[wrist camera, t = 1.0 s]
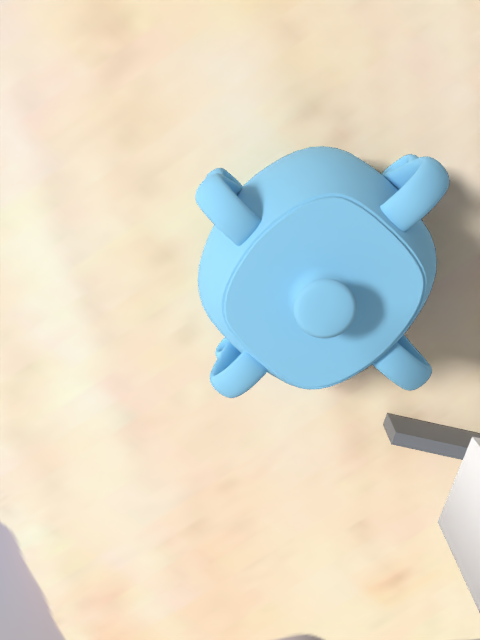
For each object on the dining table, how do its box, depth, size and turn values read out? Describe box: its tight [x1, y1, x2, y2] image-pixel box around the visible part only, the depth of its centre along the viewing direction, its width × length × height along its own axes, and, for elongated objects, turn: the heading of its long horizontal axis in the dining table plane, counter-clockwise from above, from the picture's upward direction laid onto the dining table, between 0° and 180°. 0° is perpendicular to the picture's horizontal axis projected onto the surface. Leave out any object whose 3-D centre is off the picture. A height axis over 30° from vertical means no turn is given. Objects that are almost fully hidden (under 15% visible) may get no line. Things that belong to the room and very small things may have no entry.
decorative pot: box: [196, 146, 449, 398], centre depth 30 cm, size 16×16×14 cm
